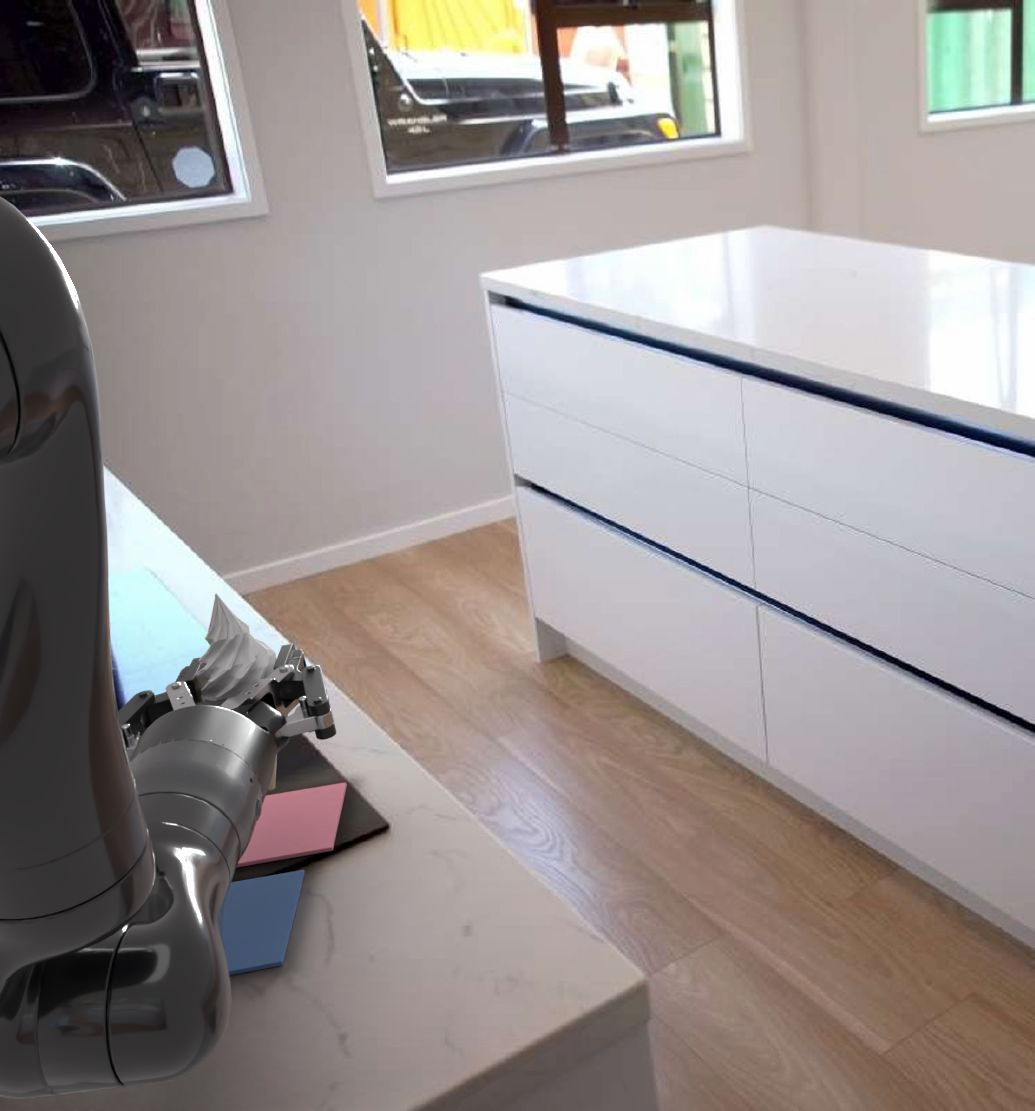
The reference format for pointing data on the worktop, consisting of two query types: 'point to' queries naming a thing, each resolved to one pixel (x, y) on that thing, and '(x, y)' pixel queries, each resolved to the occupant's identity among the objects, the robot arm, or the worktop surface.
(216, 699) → the ice cream cone
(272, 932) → the blue mat
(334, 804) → the rose mat
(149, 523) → the worktop surface
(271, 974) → the worktop surface
